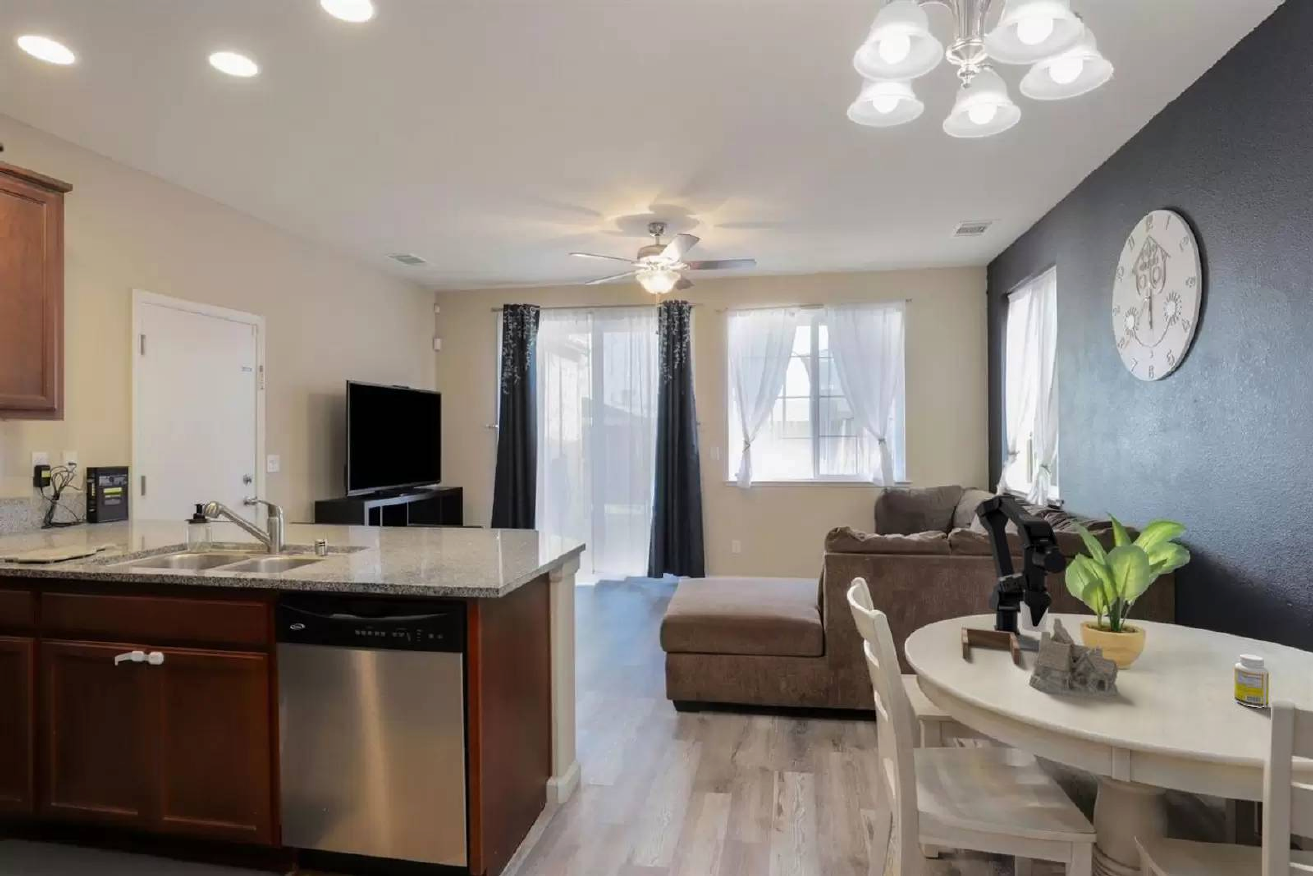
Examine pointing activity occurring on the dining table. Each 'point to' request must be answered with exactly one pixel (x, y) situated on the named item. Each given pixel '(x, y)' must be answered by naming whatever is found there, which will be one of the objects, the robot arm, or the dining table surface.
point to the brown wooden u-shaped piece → (990, 640)
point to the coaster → (1028, 644)
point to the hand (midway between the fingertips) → (1033, 623)
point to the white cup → (1028, 622)
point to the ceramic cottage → (1072, 667)
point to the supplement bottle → (1251, 681)
